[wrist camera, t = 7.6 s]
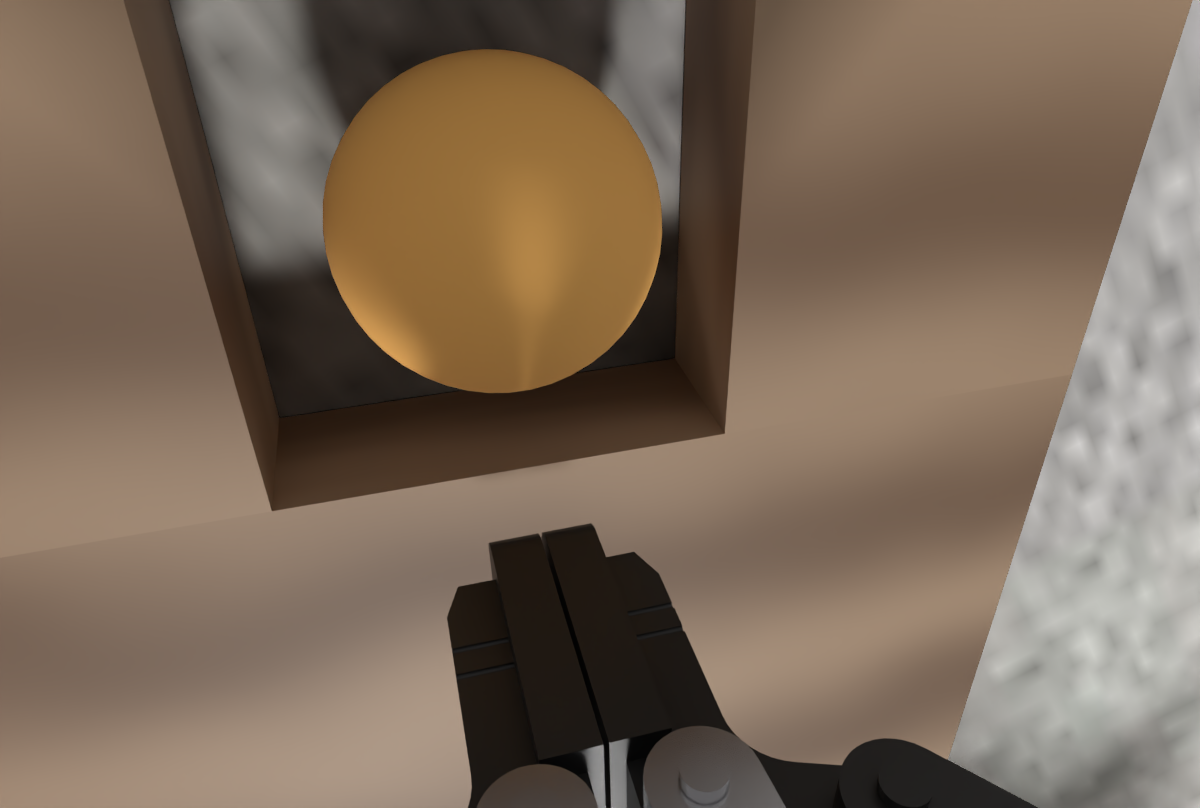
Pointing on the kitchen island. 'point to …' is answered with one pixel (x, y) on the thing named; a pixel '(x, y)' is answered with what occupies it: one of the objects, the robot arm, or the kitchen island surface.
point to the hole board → (549, 408)
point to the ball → (492, 221)
